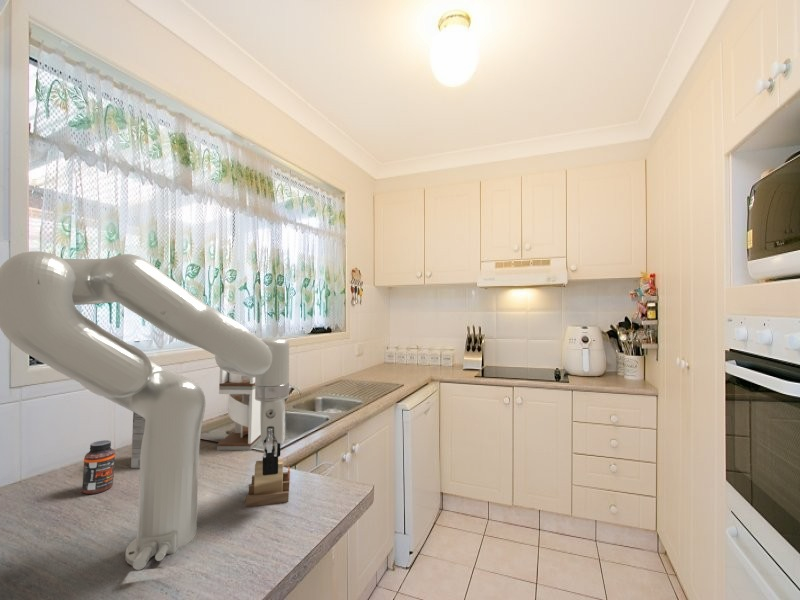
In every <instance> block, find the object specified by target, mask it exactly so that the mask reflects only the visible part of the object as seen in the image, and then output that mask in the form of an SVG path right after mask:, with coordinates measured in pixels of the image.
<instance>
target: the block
mask: <svg viewBox="0 0 800 600" xmlns="http://www.w3.org/2000/svg"><path fill="white" fill-rule="evenodd" d="M283 472H284V458H278V473H277V474H273V475H265V476H264V475H263V459H262V460H256V461H255V465H254V475H255V477H254V495H257V494H266V493H276V492H282V486H283Z"/></svg>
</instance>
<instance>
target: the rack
mask: <svg viewBox="0 0 800 600" xmlns="http://www.w3.org/2000/svg"><path fill="white" fill-rule="evenodd" d="M290 476H291V467H290V466H288V467H287V471H285V472H284V471H283V486H282V492H276V493H266V494H257V495H254V477H255V474H254V475H253V474H252V475H251V484H249V486H248V495H246V496H245V508H246V507H247V508H249V507H255V506H256V507H257V506H264V505H265V506H266V505H274V504H284V503H289V499H290V498H289V497H290V479H291V478H290Z"/></svg>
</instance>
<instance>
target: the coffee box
mask: <svg viewBox="0 0 800 600" xmlns="http://www.w3.org/2000/svg"><path fill="white" fill-rule="evenodd" d="M132 413H133V414H132V415H133V416H132V435H131V436H132V438H131V440H132V441H131V455H130V457H131V458H130V459H131V461H130V462H131V463H130V469H140V454H141V445H142V439H143V435H144V430H145V419H144V418H143V417H142V416H140V415H138V414H136V413H135V412H133V411H132Z"/></svg>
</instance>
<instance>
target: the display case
mask: <svg viewBox="0 0 800 600" xmlns="http://www.w3.org/2000/svg"><path fill="white" fill-rule="evenodd" d="M218 388H219V389H218V390H219V391H218V394H219V395H228V404H227V407H228V408H227V415H228V417H229V418H230V419H231V420H232V421H233V422H234V431H232V432H231V433H230V434H228V435H226V436H225V437H223V439H221V440H220V441H219V442H218V443H217V444H216V450H217V451H251V450H252V449H253V448H254V447H255V446H256V445H257V444H258V443H257V441H259V442H261V429H260V401H257V400H255V377H246V376H242V375H237V374H233V373H229V372H226V371H224V370H222V369H221V368H220V367H219V387H218ZM256 443H257V444H256ZM255 444H256V445H255ZM254 445H255V446H254ZM253 446H254V447H253ZM252 447H253V448H252ZM251 448H252V449H251Z"/></svg>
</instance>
